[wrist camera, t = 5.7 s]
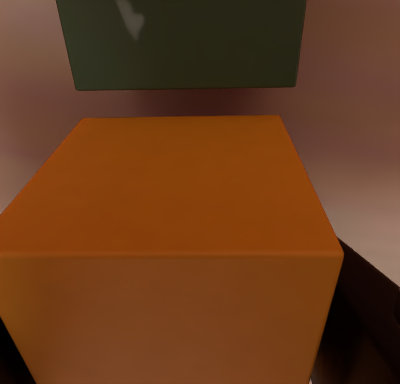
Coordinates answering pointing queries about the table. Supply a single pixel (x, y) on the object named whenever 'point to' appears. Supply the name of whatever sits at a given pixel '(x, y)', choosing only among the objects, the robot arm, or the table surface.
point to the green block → (182, 43)
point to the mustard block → (169, 255)
